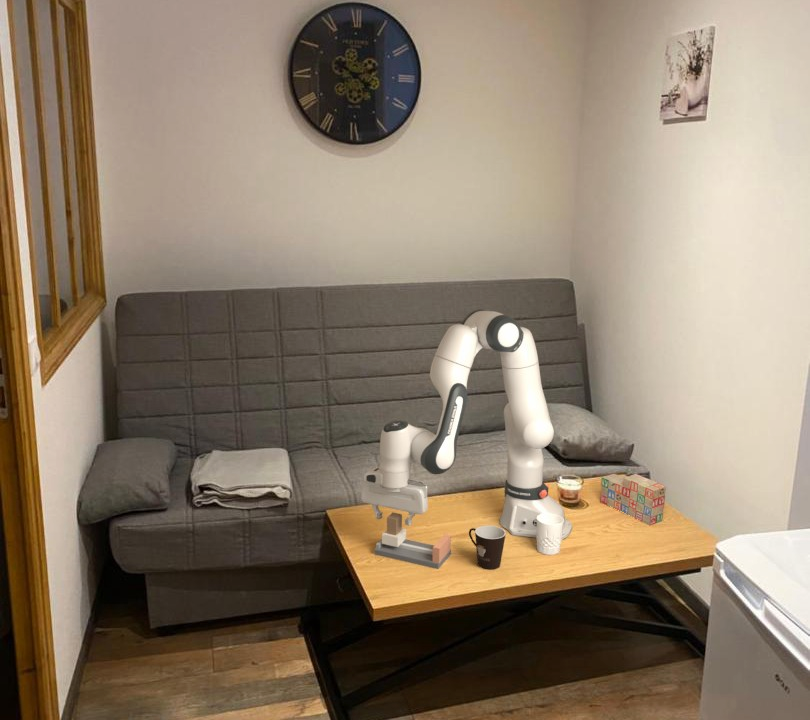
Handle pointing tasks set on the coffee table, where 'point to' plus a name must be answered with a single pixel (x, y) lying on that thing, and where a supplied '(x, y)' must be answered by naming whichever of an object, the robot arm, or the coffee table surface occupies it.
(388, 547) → the track
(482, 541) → the coffee mug
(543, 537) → the white cup
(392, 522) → the shuttle
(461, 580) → the coffee table surface
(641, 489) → the stack of blocks
